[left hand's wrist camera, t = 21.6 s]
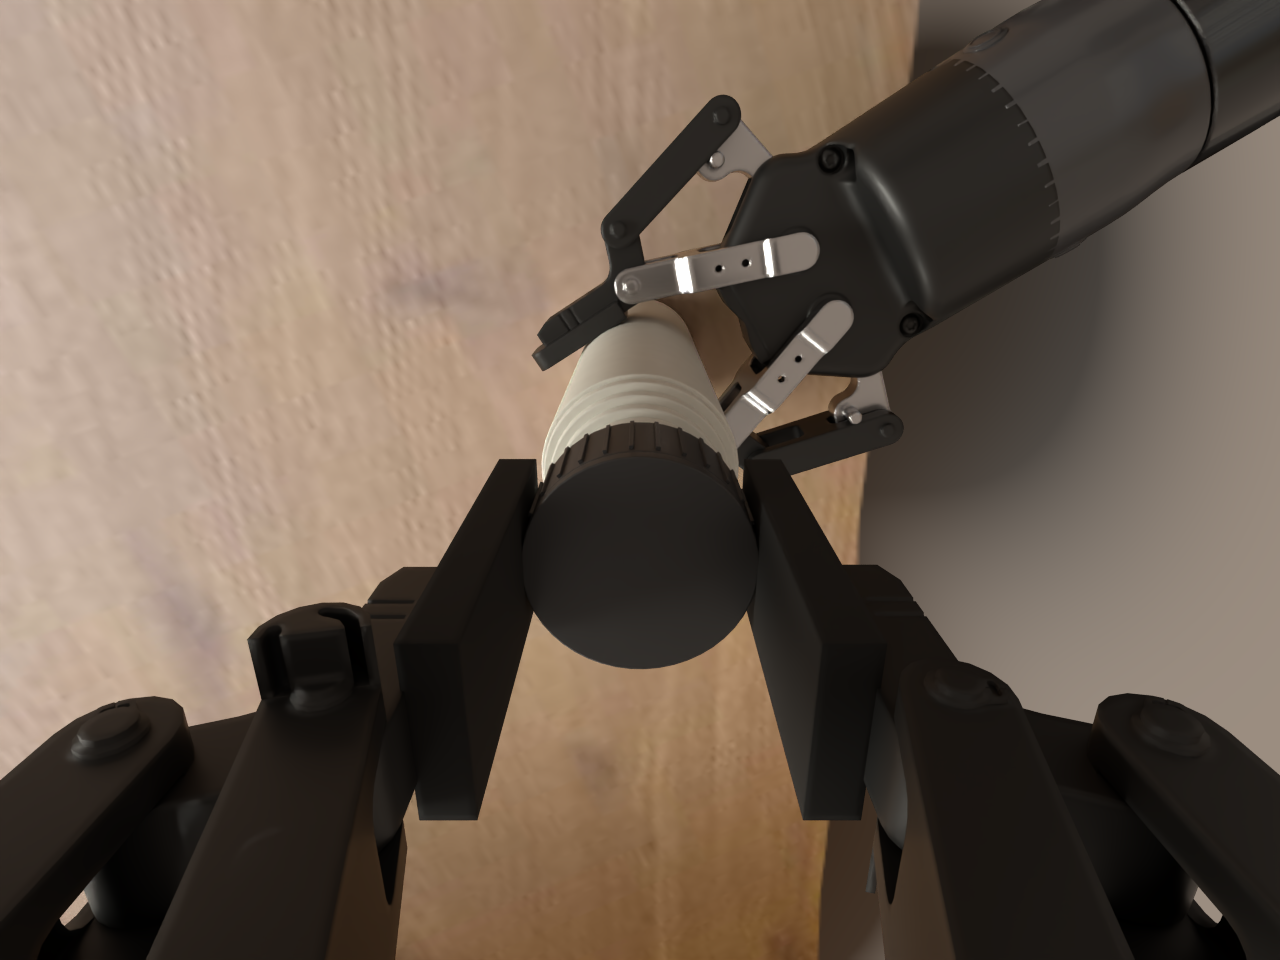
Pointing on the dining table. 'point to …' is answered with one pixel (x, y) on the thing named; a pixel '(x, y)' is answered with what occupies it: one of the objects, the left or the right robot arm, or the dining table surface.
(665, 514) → the cap
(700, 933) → the dining table surface
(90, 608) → the dining table surface
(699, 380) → the bottle
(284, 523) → the dining table surface
